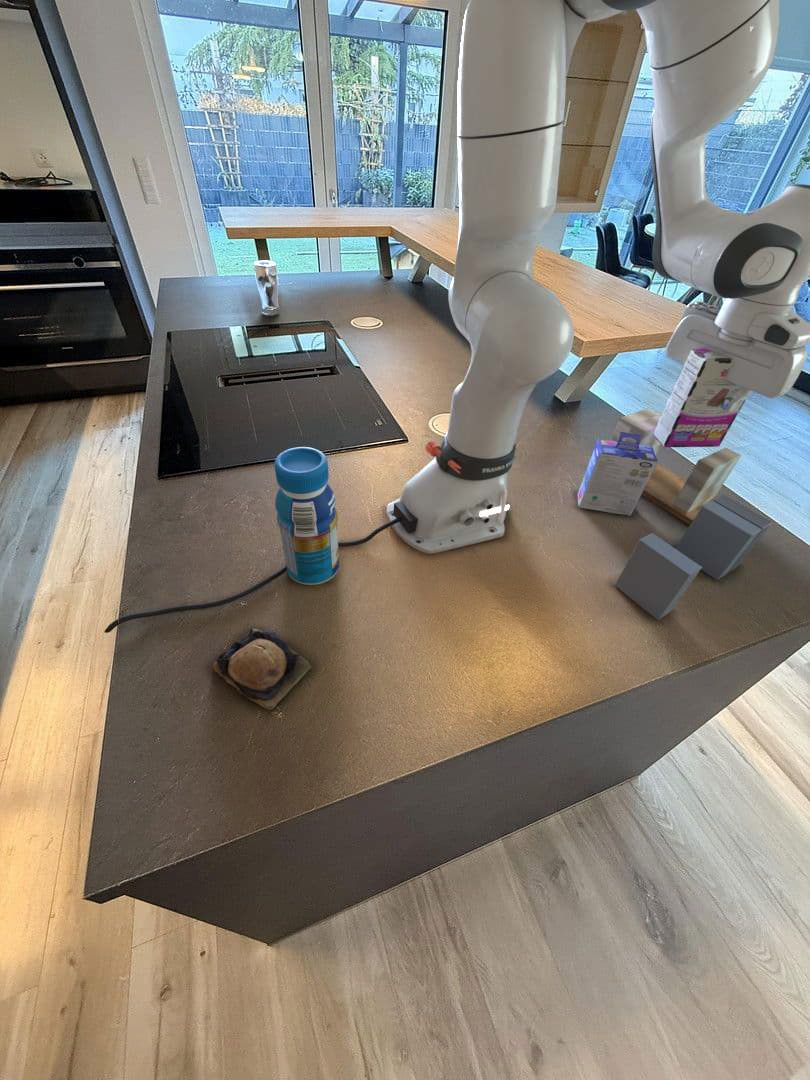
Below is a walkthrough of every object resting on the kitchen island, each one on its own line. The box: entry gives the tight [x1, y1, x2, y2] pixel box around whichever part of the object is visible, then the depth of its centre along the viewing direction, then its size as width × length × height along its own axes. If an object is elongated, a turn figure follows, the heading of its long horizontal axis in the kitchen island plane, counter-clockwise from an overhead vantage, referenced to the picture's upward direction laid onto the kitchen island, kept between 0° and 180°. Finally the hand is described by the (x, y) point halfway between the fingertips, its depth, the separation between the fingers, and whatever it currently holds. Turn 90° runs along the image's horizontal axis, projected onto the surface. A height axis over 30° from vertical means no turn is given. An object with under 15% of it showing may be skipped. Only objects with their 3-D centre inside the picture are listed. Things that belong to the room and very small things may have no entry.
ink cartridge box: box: [577, 432, 658, 517], centre depth 84 cm, size 10×6×14 cm, turn 78°
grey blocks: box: [614, 494, 773, 621], centre depth 72 cm, size 22×8×10 cm, turn 123°
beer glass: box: [253, 260, 280, 317], centre depth 152 cm, size 7×7×15 cm
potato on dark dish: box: [212, 628, 312, 711], centre depth 58 cm, size 11×8×4 cm
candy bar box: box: [653, 349, 749, 448], centre depth 81 cm, size 11×5×16 cm, turn 95°
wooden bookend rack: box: [610, 408, 742, 526], centre depth 90 cm, size 11×23×11 cm, turn 33°
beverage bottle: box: [274, 446, 340, 586], centre depth 66 cm, size 8×8×20 cm
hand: (705, 400), depth 81 cm, fingers closed on candy bar box, 6 cm apart
